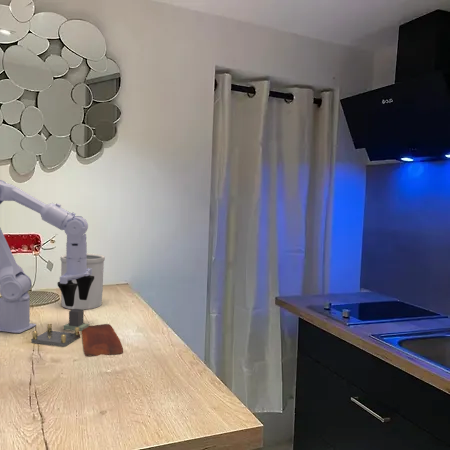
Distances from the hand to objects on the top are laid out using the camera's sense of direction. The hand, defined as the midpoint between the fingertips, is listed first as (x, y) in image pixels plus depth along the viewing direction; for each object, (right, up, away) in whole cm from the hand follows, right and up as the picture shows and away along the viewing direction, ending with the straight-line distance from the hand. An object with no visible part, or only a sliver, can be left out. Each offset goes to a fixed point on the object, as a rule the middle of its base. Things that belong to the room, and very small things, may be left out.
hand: (76, 302), depth 141 cm
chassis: (-2, -9, -10) cm, 13 cm away
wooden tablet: (+9, -10, -8) cm, 15 cm away
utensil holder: (-6, -5, +27) cm, 28 cm away
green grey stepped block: (0, -8, +1) cm, 8 cm away
